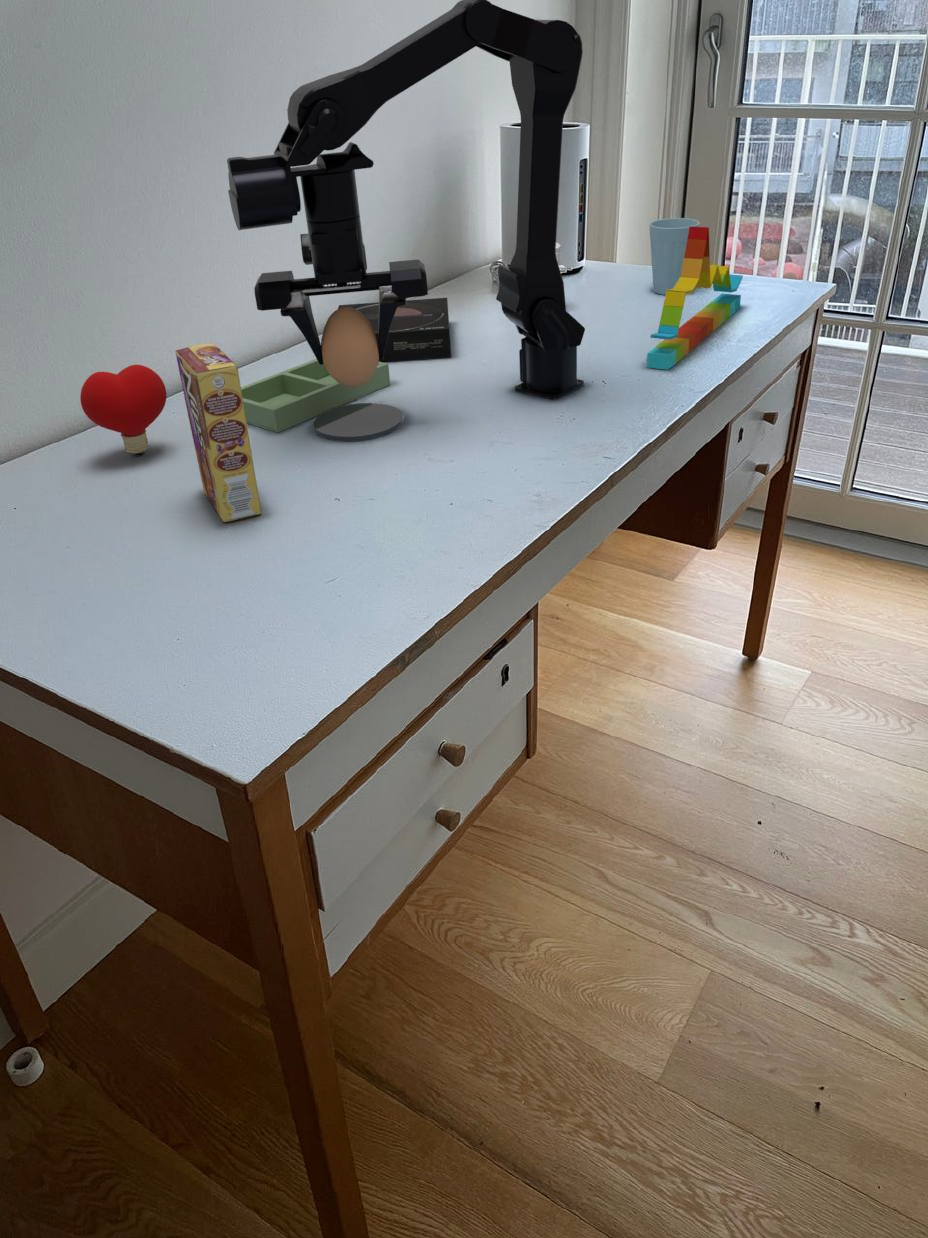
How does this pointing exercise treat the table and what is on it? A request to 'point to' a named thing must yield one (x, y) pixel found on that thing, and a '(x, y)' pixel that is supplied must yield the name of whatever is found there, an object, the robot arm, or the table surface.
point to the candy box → (219, 430)
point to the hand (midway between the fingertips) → (351, 360)
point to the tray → (302, 395)
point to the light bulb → (125, 403)
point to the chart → (692, 276)
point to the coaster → (358, 422)
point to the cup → (668, 250)
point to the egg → (349, 347)
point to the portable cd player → (413, 329)
